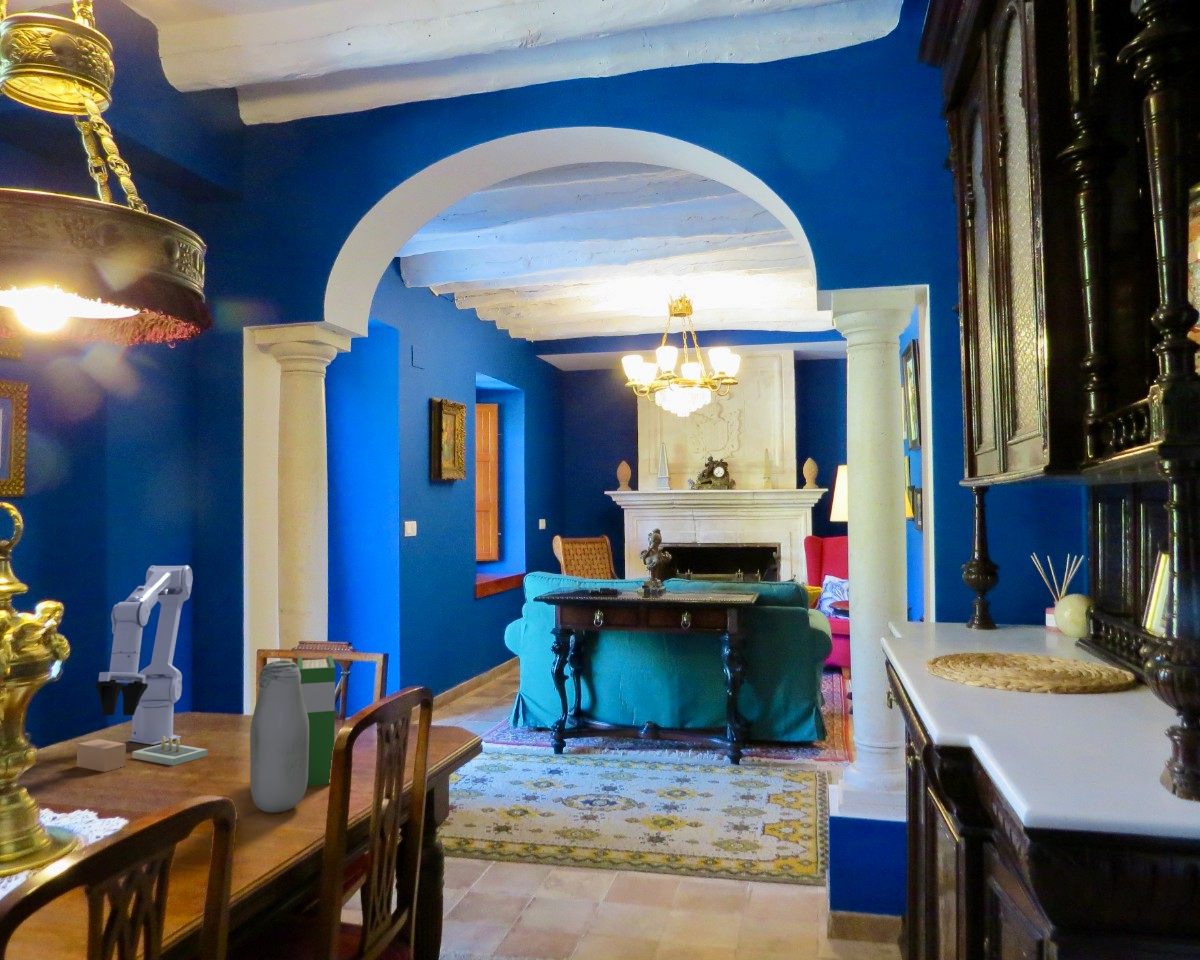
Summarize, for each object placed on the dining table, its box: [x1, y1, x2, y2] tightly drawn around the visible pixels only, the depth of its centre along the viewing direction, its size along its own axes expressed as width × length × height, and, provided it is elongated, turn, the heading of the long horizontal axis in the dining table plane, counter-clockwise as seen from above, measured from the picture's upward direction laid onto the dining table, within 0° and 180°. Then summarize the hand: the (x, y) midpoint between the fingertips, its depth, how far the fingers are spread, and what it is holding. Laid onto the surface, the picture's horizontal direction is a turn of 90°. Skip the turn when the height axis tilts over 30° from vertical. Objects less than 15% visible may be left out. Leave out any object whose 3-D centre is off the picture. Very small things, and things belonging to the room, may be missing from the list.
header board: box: [131, 736, 208, 766], centre depth 199 cm, size 14×9×4 cm, turn 64°
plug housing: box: [76, 738, 127, 773], centre depth 191 cm, size 10×5×5 cm, turn 64°
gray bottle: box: [249, 660, 309, 814], centre depth 162 cm, size 10×10×28 cm
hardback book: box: [297, 655, 336, 787], centre depth 186 cm, size 18×7×24 cm, turn 20°
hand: (118, 715), depth 192 cm, fingers open, 7 cm apart
